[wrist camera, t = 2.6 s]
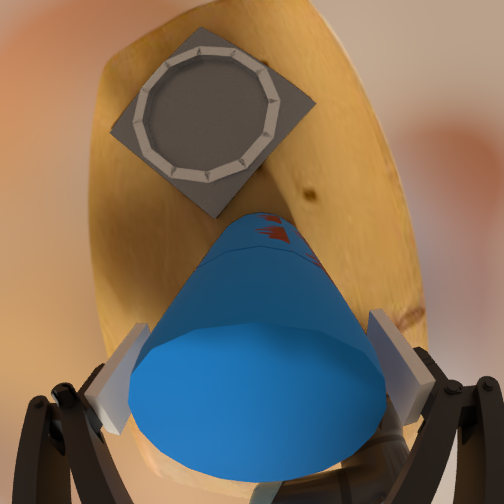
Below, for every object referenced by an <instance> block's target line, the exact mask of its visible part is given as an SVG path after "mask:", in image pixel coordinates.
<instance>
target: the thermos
mask: <svg viewBox="0 0 504 504" xmlns="http://www.w3.org/2000/svg"><path fill="white" fill-rule="evenodd" d="M128 405H129V408H130V410H131V412H132V415H133V417H134V419H135V421H136V424H137V426H138V428H139V430H140V431H141V432H142V433H143V434H144V435H145V436H146V437H147V438H148V439H149V440H150V441H151V442H152V443H153V444H154V445H155V446H156V447H157V448H158V449H159V450H160V451H161V452H162V453H164V454H165V455H167V456H169V457H170V458H172V459H174V460H175V461H177V462H179V463H181V464H182V465H184V466H186V467H188V468H190V469H193V470H196V471H198V472H201V473H204V474H208V475H211V476H214V477H217V478H221V479H227V480H235V481H244V482H254V483H258V482H274V481H285V480H292V479H296V478H300V477H304V476H307V475H311V474H314V473H317V472H320V471H323V470H325V469H327V468H329V467H331V466H333V465H335V464H337V463H339V462H341V461H342V460H344V459H346V458H348V457H349V456H351V455H353V454H354V453H355V452H356V451H357V450H358V449H359V448H360V447H361V446H362V445H363V444H364V443H365V442H366V441H367V440H368V439H369V438H370V437H371V436H372V435H373V434H374V433H375V431H376V429H377V427H378V425H379V423H380V421H381V419H382V417H383V415H384V413H385V410H386V408H387V404H386V387H385V378H384V375H383V372H382V369H381V366H380V363H379V360H378V357H377V354H376V351H375V349H374V347H373V346H372V344H371V342H370V341H369V339H368V337H367V336H366V334H365V332H364V331H363V329H362V327H361V326H360V324H359V322H358V321H357V319H356V317H355V316H354V314H353V313H352V311H351V309H350V308H349V306H348V304H347V303H346V301H345V300H344V298H343V297H342V295H341V293H340V292H339V290H338V289H337V287H336V286H335V284H334V282H333V281H332V279H331V278H330V276H329V275H328V273H327V272H326V270H325V269H324V267H323V266H322V264H321V263H320V261H319V260H318V258H317V257H316V255H315V254H314V252H313V251H312V249H311V248H310V246H309V245H308V243H307V242H306V240H305V239H304V238H303V237H302V235H301V234H300V233H299V231H298V230H297V229H296V228H295V227H294V226H293V225H292V224H291V223H289V222H288V221H286V220H284V219H283V218H281V217H279V216H278V215H274V214H269V213H263V212H260V213H254V214H248V215H245V216H243V217H241V218H240V219H238V220H236V221H235V222H233V223H232V224H230V225H229V226H228V227H227V228H226V229H225V230H224V232H223V233H222V234H221V235H220V237H219V238H218V239H217V240H216V242H215V243H214V244H213V246H212V247H211V248H210V250H209V251H208V253H207V254H206V255H205V257H204V258H203V259H202V261H201V262H200V264H199V265H198V266H197V268H196V269H195V271H194V272H193V273H192V275H191V276H190V278H189V279H188V280H187V282H186V283H185V285H184V286H183V288H182V289H181V290H180V292H179V293H178V295H177V296H176V298H175V299H174V300H173V302H172V303H171V305H170V306H169V308H168V309H167V311H166V312H165V313H164V315H163V316H162V318H161V319H160V321H159V322H158V324H157V325H156V327H155V328H154V330H153V331H152V333H151V334H150V336H149V337H148V339H147V340H146V342H145V343H144V345H143V346H142V348H141V351H140V353H139V355H138V358H137V360H136V363H135V365H134V368H133V370H132V373H131V375H130V384H129V395H128Z"/></svg>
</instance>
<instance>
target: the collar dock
mask: <svg viewBox="0 0 504 504" xmlns="http://www.w3.org/2000/svg"><path fill="white" fill-rule="evenodd" d="M315 105H316V103H315V102H314V101H313V100H312V99H310V98H309V97H308V96H307V95H305V94H304V93H303V92H302V91H300V90H299V89H298V88H297V87H295V86H294V85H293V84H291V83H290V82H289V81H287V80H286V79H285V78H283V77H282V76H280V75H279V74H278V73H276V72H275V71H273V70H272V69H271V68H269V67H268V66H266V65H265V64H263V63H262V62H260V61H259V60H257V59H256V58H254V57H253V56H251V55H250V54H248V53H246V52H245V51H243V50H242V49H240V48H238V47H237V46H235V45H233V44H232V43H230V42H228V41H226V40H225V39H223V38H221V37H219V36H218V35H216V34H214V33H212V32H210V31H208V30H206V29H204V28H203V27H200V28H199V29H197V30H196V31H195V32H194V33H193V34H192V35H191V36H190V37H189V38H188V39H187V40H186V41H185V42H184V43H183V44H182V45H181V46H180V47H179V48H178V49H177V50H176V51H175V52H174V53H173V54H172V55H171V56H170V57H169V58H168V59H167V60H166V61H164V62H163V63H162V64H161V66H160V67H159V68H158V69H157V70H156V71H155V72H154V74H153V75H152V76H151V77H150V78H149V79H148V81H147V82H146V83H145V84H144V85H143V87H142V88H141V89H140V92H139V93H138V94H137V96H136V97H135V98H134V99H133V101H132V102H131V103H130V105H129V106H128V107H127V109H126V110H125V112H124V113H123V114H122V116H121V117H120V118H119V120H118V121H117V123H116V124H115V126H114V127H113V129H112V130H111V132H110V134H111V135H113V136H114V137H115V138H116V139H117V140H119V141H120V142H121V143H122V144H124V145H125V146H126V147H127V148H128V149H130V150H131V151H132V152H133V153H135V154H136V155H137V156H138V157H139V158H141V159H142V160H143V161H144V162H145V163H147V164H148V165H149V166H150V167H152V168H153V169H154V170H155V171H156V172H158V173H159V174H160V175H161V176H162V177H164V178H165V179H166V180H167V181H169V182H170V183H171V184H172V185H173V186H175V187H176V188H177V189H178V190H179V191H181V192H182V193H183V194H184V195H186V196H187V197H188V198H189V199H190V200H192V201H193V202H194V203H195V204H196V205H198V206H199V207H200V208H201V209H203V210H204V211H205V212H206V213H207V214H209V215H210V216H211V217H212V218H213V219H216V218H217V216H218V215H219V214H220V213H221V212H222V210H223V209H224V208H225V207H226V205H227V204H228V203H229V202H230V201H231V199H232V198H233V197H234V196H235V195H236V193H237V192H238V191H239V190H240V189H241V188H242V186H243V185H244V184H245V183H246V182H247V180H248V179H249V178H250V177H251V176H252V175H253V173H254V172H255V171H256V170H257V169H258V168H259V167H260V165H261V164H262V163H263V162H264V161H265V160H266V159H267V157H268V156H269V155H270V154H271V153H272V152H273V151H274V149H275V148H276V147H277V146H278V145H279V144H280V143H281V142H282V141H283V139H284V138H285V137H286V136H287V135H288V134H289V133H290V132H291V131H292V130H293V128H294V127H295V126H296V125H297V124H298V123H299V122H300V121H301V120H302V119H303V118H304V117H305V116H306V114H307V113H308V112H309V111H310V110H311V109H312V108H313V107H314V106H315Z"/></svg>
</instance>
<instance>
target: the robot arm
mask: <svg viewBox="0 0 504 504" xmlns="http://www.w3.org/2000/svg"><path fill="white" fill-rule="evenodd" d="M149 336H150V331H149V327H148V324H147V323H136V325H135V326H134V327H133V328H132V330H131V331H130V332H129V334H128V335H127V336H126V337H125V339H124V340H123V341H122V343H121V344H120V345H119V347H118V348H117V349H116V351H115V352H114V353H113V355H112V356H111V357H110V359H109V360H108V361H107V363H106V364H103V363H102V364H101V365H99V366H98V367H97V368H95V369H94V371H93V372H92V373H91V375H90V376H89V377H88V380H86V381H85V383H84V384H83V385H82V387H81V388H80V390H79V391H78V392H76V391H75V389H74V387H73V385H72V384H70V383H66V382H65V383H60V384H58V385H56V386H55V387H54V388H53V389H52V391H51V395H52V397H53V398H54V400H55V402H56V403H50V402H49V401H48V399H47V398H46V397H45V396H42V395H40V396H36V397H34V398H33V399H32V400H31V401H30V403H29V405H28V408H27V412H26V416H25V420H24V424H23V428H22V432H21V437H20V442H19V447H18V453H17V459H16V465H15V473H14V482H13V494H12V504H72V503H71V485H70V468H71V472H72V475H73V479H74V482H75V485H76V489H77V492H78V495H79V498H80V501H81V503H82V504H134V503H133V501H132V500H131V497H130V496H129V494H128V492H127V490H126V488H125V486H124V484H123V482H122V479H121V477H120V475H119V473H118V471H117V469H116V466H115V464H114V462H113V459H112V457H111V454H110V452H109V449H108V447H107V444H106V441H105V439H104V436H103V433H102V432H101V430H100V429H101V427H102V425H103V426H104V427H105V429H106V430H107V432H110V433H113V434H117V435H121V433H122V430H123V428H124V426H125V424H126V422H127V420H128V418H129V416H130V414H131V410H130V408H129V405H128V395H129V384H130V375H131V373H132V370H133V368H134V365H135V363H136V360H137V358H138V355H139V353H140V351H141V348H142V346H143V345H144V343H145V342H146V340H147V339H148V337H149ZM367 337H368V339H369V341H370V342H371V344H372V346H373V347H374V349H375V351H376V354H377V357H378V360H379V363H380V366H381V369H382V372H383V375H384V378H385V387H386V391H387V393H388V395H386V404H387V408H386V410H385V413H384V415H383V417H382V419H381V421H380V423H379V425H378V427H377V429H376V431H375V433H374V434H373V435H372V436H371V437H370V438H369V439H368V440H367V441H366V442H365V443H364V444H363V445H362V446H361V447H360V448H359V449H358V450H357V451H356V452H355V453H354V454H353V455H351V456H349V457H348V458H346V459H344V460H342V461H341V466H342V468H341V469H336V470H331V471H326V472H321V473H315V474H311V475H307V476H304V477H300V478H296V479H292V480H285V481H274V482H260V483H259V484H258V485H257V486H256V487H255V489H254V491H253V493H252V496H251V499H250V503H249V504H431V502H432V500H433V497H434V495H435V493H436V491H437V488H438V486H439V483H440V481H441V478H442V475H443V472H444V470H445V467H446V464H447V461H448V458H449V455H450V451H451V449H452V445H453V441H454V438H455V434H456V430H458V431H457V432H458V433H457V435H458V436H457V438H458V447H457V448H458V451H457V471H456V472H457V473H456V483H455V492H454V500H453V504H504V402H503V398H502V393H501V390H500V386H499V383H498V381H497V380H496V379H495V378H492V377H490V376H484V377H481V378H480V379H479V380H478V382H477V384H476V385H474V386H463V385H462V384H461V383H460V382H458V381H455V380H448V378H447V377H446V376H445V374H444V373H443V372H442V370H441V369H440V368H439V366H438V365H437V364H436V363H435V361H434V360H433V359H432V358H431V356H430V355H429V354H428V352H427V351H425V350H424V349H422V348H421V347H416V348H412V347H411V346H410V344H409V343H408V342H407V340H406V339H405V338H404V337H403V335H402V334H401V333H400V331H399V330H398V329H397V328H396V326H395V325H394V324H393V322H392V321H391V320H390V319H389V317H388V316H387V315H386V314H385V312H384V311H383V310H382V309H374V310H370V312H369V321H368V329H367ZM421 414H422V416H423V418H424V420H423V422H422V424H421V426H420V428H419V430H418V432H417V433H418V435H417V437H416V440H415V442H414V444H413V447H412V449H411V451H409V448H408V446H407V444H406V442H405V440H404V437H403V426H405V425H409V424H412V423H415V422H417V421H418V419H419V417H420V415H421Z"/></svg>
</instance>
